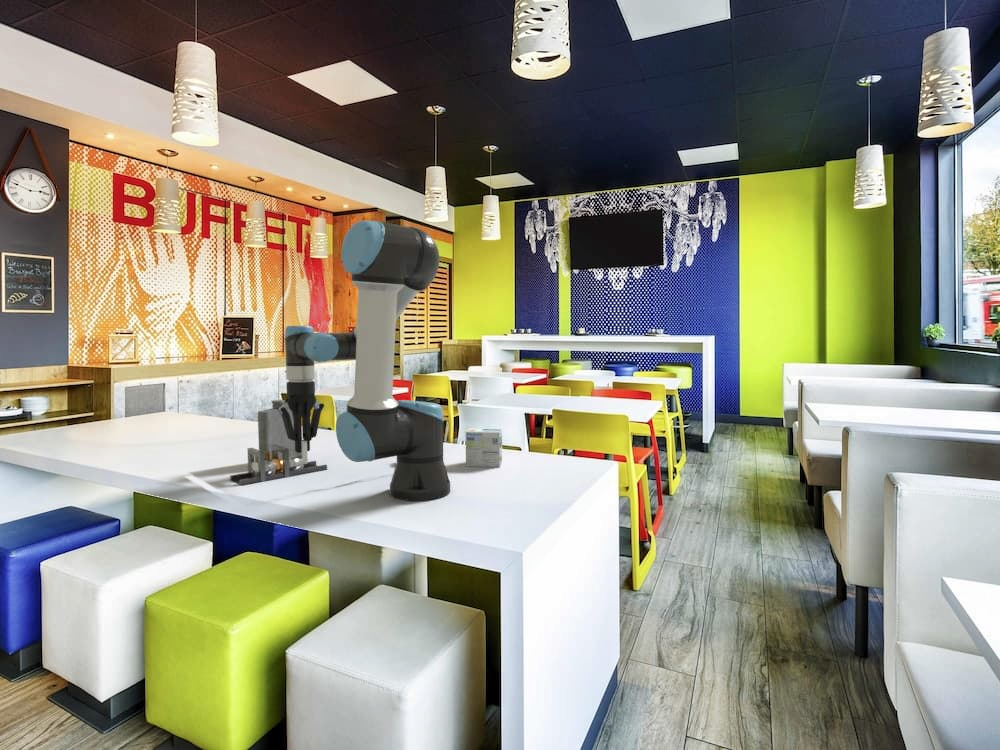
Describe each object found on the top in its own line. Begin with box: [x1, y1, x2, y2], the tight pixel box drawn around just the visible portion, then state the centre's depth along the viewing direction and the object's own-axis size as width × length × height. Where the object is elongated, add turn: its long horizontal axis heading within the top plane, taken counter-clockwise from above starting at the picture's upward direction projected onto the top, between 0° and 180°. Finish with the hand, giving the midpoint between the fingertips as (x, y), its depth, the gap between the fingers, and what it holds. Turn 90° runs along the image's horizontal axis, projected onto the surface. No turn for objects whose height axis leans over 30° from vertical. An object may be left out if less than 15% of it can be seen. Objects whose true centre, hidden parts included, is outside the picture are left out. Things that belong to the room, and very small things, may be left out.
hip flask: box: [257, 399, 298, 460], centre depth 167 cm, size 16×4×20 cm, turn 159°
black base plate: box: [229, 460, 329, 487], centre depth 155 cm, size 24×8×2 cm, turn 135°
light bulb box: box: [465, 428, 503, 468], centre depth 171 cm, size 11×7×11 cm, turn 84°
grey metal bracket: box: [246, 444, 290, 483], centre depth 152 cm, size 8×8×8 cm
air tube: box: [250, 455, 304, 478], centre depth 155 cm, size 13×4×5 cm, turn 135°
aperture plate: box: [254, 451, 270, 462], centre depth 156 cm, size 4×1×7 cm, turn 136°
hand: (302, 463), depth 159 cm, fingers closed
